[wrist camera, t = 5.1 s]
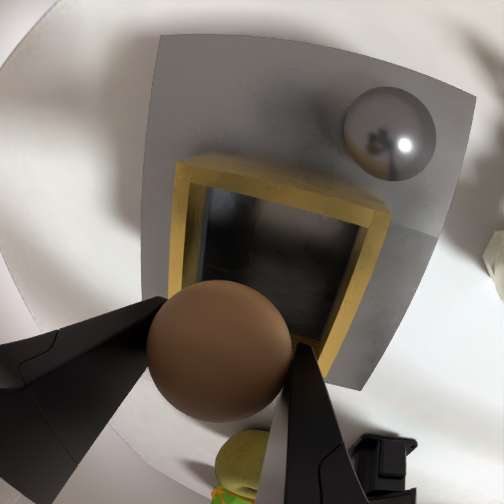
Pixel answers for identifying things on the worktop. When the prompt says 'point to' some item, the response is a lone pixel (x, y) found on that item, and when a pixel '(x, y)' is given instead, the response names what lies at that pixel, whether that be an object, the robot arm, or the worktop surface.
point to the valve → (496, 261)
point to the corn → (228, 497)
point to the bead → (219, 351)
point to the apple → (242, 462)
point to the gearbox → (299, 184)
